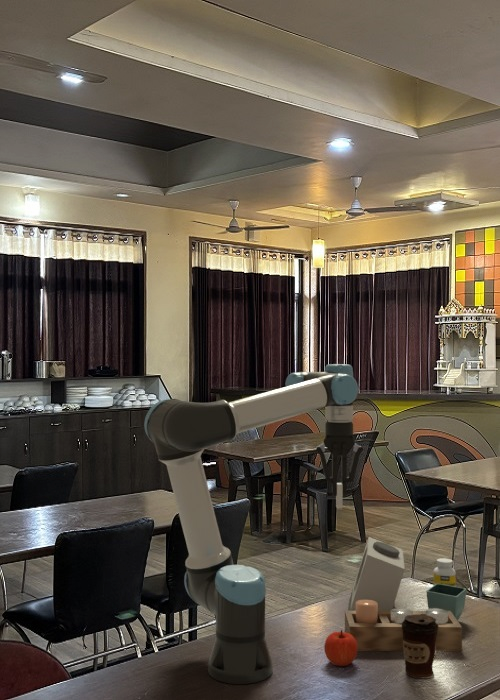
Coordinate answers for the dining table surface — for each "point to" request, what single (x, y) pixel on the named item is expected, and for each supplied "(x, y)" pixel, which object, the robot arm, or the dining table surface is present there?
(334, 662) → the apple
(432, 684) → the dining table surface
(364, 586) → the alarm clock
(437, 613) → the plug far
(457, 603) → the flower pot
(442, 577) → the pill bottle
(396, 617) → the plug mid
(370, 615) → the plug terracotta
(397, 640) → the divided box
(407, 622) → the coffee cup
